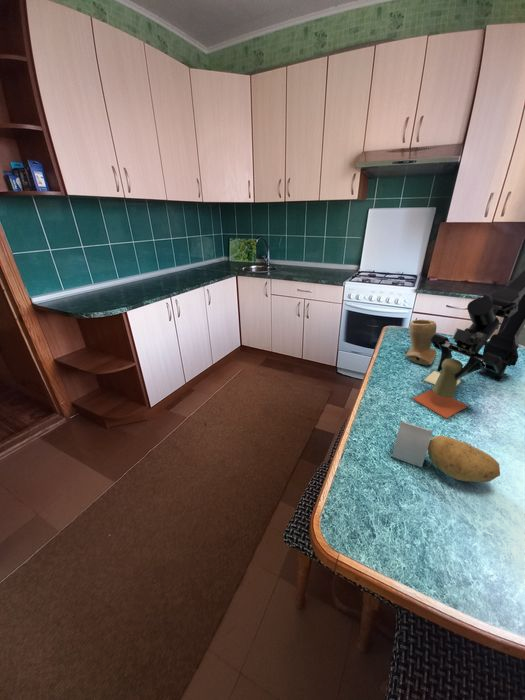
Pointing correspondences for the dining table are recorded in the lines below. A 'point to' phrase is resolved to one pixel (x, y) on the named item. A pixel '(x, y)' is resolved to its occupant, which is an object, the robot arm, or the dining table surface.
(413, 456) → the grey rectangular block
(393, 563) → the dining table surface
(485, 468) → the potato
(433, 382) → the cream mat
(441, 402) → the terracotta mat
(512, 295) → the robot arm
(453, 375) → the cork
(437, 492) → the dining table surface
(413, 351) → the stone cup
